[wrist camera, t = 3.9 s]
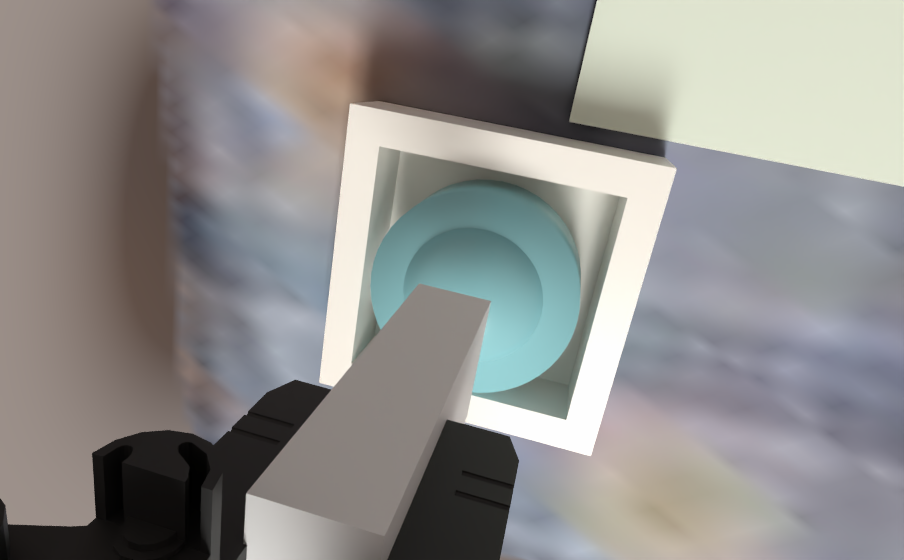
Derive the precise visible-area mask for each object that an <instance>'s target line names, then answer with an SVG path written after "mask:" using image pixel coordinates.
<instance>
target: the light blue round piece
mask: <svg viewBox="0 0 904 560" xmlns="http://www.w3.org/2000/svg"><path fill="white" fill-rule="evenodd" d="M418 284H423V285H428V286H432V287H436V288H440V289H444V290H448V291H452V292H456V293H460V294H465V295H469V296H473V297H477V298H481V299H485V300H489V301H491V304H490V308H489V313H488V318H487V323H486V328H485V332H484V337H483V342H482V347H481V352H480V356H479V361H478V366H477V371H476V376H475V380H474V385H473V390H472V392H474V393H491V392H498V391H505V390H508V389H512V388H515V387H518V386H520V385H523V384H525V383H527V382H530V381H531V380H533V379H535V378H536V377H538V376H540V375H541V374H542V373H543V372H545V371H546V370H547V369H548V368H550V367H551V366H552V365H553V364H554V363H555V362H556V360H557V359H558V358H559V357H560V356H561V354H562V353H563V352H564V350H565V349H566V347H567V345H568V344H569V342H570V340H571V338H572V336H573V333H574V330H575V327H576V324H577V320H578V315H579V310H580V287H581V267H580V259H579V255H578V250H577V247H576V244H575V242H574V239H573V237H572V235H571V233H570V231H569V229H568V227H567V226H566V224H565V223H564V221H563V220H562V219H561V217H560V216H559V215H558V214H557V212H556V211H555V210H554V209H553V208H552V207H551V206H550V205H549V204H547V203H546V202H545V201H543V200H542V199H541V198H540V197H538V196H537V195H535V194H533V193H531V192H530V191H528V190H526V189H524V188H521V187H519V186H517V185H514V184H510V183H507V182H503V181H496V180H481V179H477V180H469V181H463V182H459V183H455V184H452V185H449V186H447V187H444V188H442V189H440V190H438V191H437V192H435V193H433V194H431V195H430V196H428V197H427V198H426V199H424V200H423V201H421V202H420V203H419V204H417V205H416V206H414V207H413V208H412V209H410V210H409V211H408V212H406V213H405V214H404V215H403V216H401V217H400V218H399V219H398V220H397V221H396V223H395V224H394V225H393V226H392V227H391V228H390V230H389V231H388V232H387V234H386V235H385V237H384V238H383V240H382V242H381V244H380V246H379V248H378V250H377V253H376V256H375V259H374V262H373V267H372V272H371V284H370V288H371V300H372V305H373V310H374V314H375V317H376V320H377V323H378V325H379V327H380V329H382V328H383V327H384V325H385V324H386V323H387V322H388V321H389V319H390V318H391V317H392V316H393V314H394V313H395V312H396V311H397V310H398V308H399V307H400V306H401V305H402V304H403V302H404V301H405V300H406V299H407V297H408V296H409V295H410V294H411V293H412V291H413V290H414V289H415V288H416V287H417V285H418Z"/></svg>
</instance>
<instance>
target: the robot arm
mask: <svg viewBox="0 0 904 560" xmlns="http://www.w3.org/2000/svg"><path fill="white" fill-rule="evenodd" d="M490 304H491V301H489V300H485V299H481V298H477V297H473V296H469V295H465V294H460V293H456V292H452V291H448V290H444V289H440V288H436V287H432V286H428V285H423V284H418V285H417V287H416V288H415V289H414V290H413V291H412V293H411V294H410V295H409V296H408V297H407V299H406V300H405V301H404V302H403V304H402V305H401V306H400V307H399V308H398V310H397V311H396V312H395V313H394V314H393V316H392V317H391V318H390V319H389V321H388V322H387V323H386V324H385V325H384V327H383V328H382V329H381V330H380V331H379V333H378V334H377V335H376V336H375V338H374V339H373V340H372V341H371V342H370V344H369V345H368V346H367V347H366V348H365V350H364V351H363V352H362V353H361V355H360V356H359V357H358V358H357V359H356V361H355V362H354V363H353V364H352V365H351V367H350V368H349V369H348V370H347V372H346V373H345V374H344V375H343V376H342V378H341V379H340V380H339V381H338V382H337V384H336V385H335V386H334V387H333V389H332V390H330V389H327V388H323V387H320V386H316V385H312V384H309V383H305V382H301V381H298V380H294V381H292V382H289V383H287V384H285V385H283V386H280V387H278V388H276V389H274V390H272V391H269V392H267V393H266V394H265V395H264V396H263V397H262V398H261V399H260V400H259V401H258V402H257V403H256V404H255V405H254V406H253V407H252V408H251V409H250V410H249V411H248V414H247V415H244V416H243V417H242V418H241V419H240V420H239V421H238V422H237V423H236V424H235V425H234V426H233V427H232V430H231V432H230V431H228V432H227V433H226V434H225V435H224V436H223V437H222V438H221V439H220V440H219V441H218V442H216V443H215V444H214V445H213V444H212V443H210V442H208V441H206V440H204V439H202V438H200V437H198V436H196V435H194V434H190V433H184V432H176V431H170V430H165V431H154V432H153V431H152V432H141V433H138V434H134V435H131V436H127V437H124V438H121V439H117V440H115V441H113V442H111V443H109V444H107V445H106V446H104V447H102V448H100V449H99V450H97V451H95V452H93V453H92V457H93V474H94V491H95V506H96V507H95V508H96V518H95V519H94V520H93V521H92V522H91V523H90V524H89V525H87V526H76V527H75V526H73V527H67V526H64V527H63V526H36V525H8V523H7V515H6V508H5V504H4V503H3V502H2V500H1V499H0V560H500V555H501V550H502V545H503V539H504V534H505V529H506V524H507V519H508V514H509V508H510V504H511V499H512V494H513V488H514V483H515V478H516V473H517V468H518V463H519V460H518V457H517V454H516V452H515V449H514V447H513V444H512V442H511V439H510V437H509V436H505V435H502V434H498V433H494V432H491V431H487V430H484V429H480V428H476V427H473V426H469V425H466V424H464V423H465V420H466V418H467V414H468V409H469V405H470V400H471V395H472V390H473V385H474V380H475V376H476V371H477V366H478V361H479V356H480V352H481V347H482V342H483V337H484V332H485V328H486V323H487V318H488V313H489V308H490Z"/></svg>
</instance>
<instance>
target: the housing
mask: <svg viewBox="0 0 904 560" xmlns="http://www.w3.org/2000/svg"><path fill="white" fill-rule="evenodd" d="M676 169H677V168H676V167H675V166H674V165H673V164H671V163H670V162H669V161H668V160H667V159H666V158H665V157H660V156H655V155H650V154H645V153H640V152H635V151H630V150H625V149H620V148H615V147H610V146H604V145H599V144H594V143H589V142H584V141H579V140H574V139H569V138H564V137H559V136H554V135H549V134H544V133H539V132H534V131H529V130H523V129H518V128H513V127H508V126H503V125H498V124H493V123H488V122H483V121H478V120H473V119H468V118H463V117H458V116H453V115H448V114H443V113H437V112H432V111H427V110H422V109H417V108H412V107H407V106H402V105H397V104H392V103H387V102H382V101H372V102H360V103H350V109H349V118H348V127H347V136H346V145H345V154H344V163H343V172H342V181H341V190H340V199H339V208H338V218H337V227H336V236H335V245H334V254H333V263H332V272H331V281H330V290H329V299H328V308H327V317H326V326H325V336H324V345H323V354H322V363H321V372H320V381H319V383H323V384H327V385H330V386H335V385H336V384H337V382H338V381H339V380H340V379H341V378H342V376H343V375H344V374H345V373H346V372H347V370H348V369H349V368H350V367H351V365H352V364H353V363H354V362H355V361H356V359H357V358H358V357H359V356H360V355H361V353H362V352H363V351H364V350H365V348H366V347H367V346H368V345H369V344H370V342H371V341H372V340H373V339H374V338H375V336H376V335H377V334H378V333H379V331H380V330H381V329H380V327H379V325H378V323H377V320H376V317H375V314H374V310H373V305H372V300H371V288H370V284H371V272H372V267H373V262H374V259H375V256H376V253H377V250H378V248H379V246H380V244H381V242H382V240H383V238H384V237H385V235H386V234H387V232H388V231H389V230H390V228H391V227H392V226H393V225H394V224H395V223H396V221H397V220H398V219H399V218H400V217H401V216H403V215H404V214H405V213H406V212H408V211H409V210H410V209H412V208H413V207H414V206H416V205H417V204H419V203H420V202H421V201H423V200H424V199H426V198H427V197H428V196H430V195H431V194H433V193H435V192H437V191H438V190H440V189H442V188H444V187H447V186H449V185H452V184H455V183H459V182H463V181H469V180H477V179H481V180H496V181H503V182H507V183H510V184H514V185H517V186H519V187H521V188H524V189H526V190H528V191H530V192H531V193H533V194H535V195H537V196H538V197H540V198H541V199H542V200H543V201H545V202H546V203H547V204H549V205H550V206H551V207H552V208H553V209H554V210H555V211H556V212H557V214H558V215H559V216H560V217H561V219H562V220H563V221H564V223H565V224H566V226H567V227H568V229H569V231H570V233H571V235H572V237H573V239H574V242H575V244H576V247H577V250H578V255H579V259H580V267H581V287H580V310H579V315H578V320H577V324H576V327H575V330H574V333H573V336H572V338H571V340H570V342H569V344H568V345H567V347H566V349H565V350H564V352H563V353H562V354H561V356H560V357H559V358H558V359H557V360H556V362H555V363H554V364H553V365H552V366H551V367H550V368H548V369H547V370H546V371H545V372H543V373H542V374H541V375H540V376H538V377H536V378H535V379H533V380H531V381H530V382H527V383H525V384H523V385H520V386H518V387H515V388H512V389H508V390H505V391H498V392H491V393H474V392H472V395H471V400H470V405H469V409H468V414H467V418H466V420H465V422H467V423H471V424H474V425H478V426H482V427H485V428H489V429H493V430H496V431H500V432H504V433H508V434H511V435H515V436H519V437H522V438H526V439H530V440H533V441H537V442H541V443H544V444H548V445H552V446H556V447H559V448H563V449H567V450H570V451H574V452H578V453H581V454H585V455H589V456H591V453H592V450H593V447H594V443H595V440H596V437H597V433H598V430H599V427H600V423H601V420H602V417H603V413H604V410H605V407H606V403H607V400H608V397H609V393H610V390H611V386H612V383H613V380H614V376H615V373H616V370H617V366H618V363H619V360H620V356H621V353H622V350H623V346H624V343H625V340H626V336H627V333H628V330H629V326H630V323H631V320H632V316H633V313H634V310H635V306H636V303H637V300H638V296H639V293H640V290H641V286H642V283H643V280H644V276H645V273H646V270H647V266H648V263H649V260H650V256H651V253H652V250H653V246H654V243H655V240H656V236H657V233H658V230H659V226H660V223H661V220H662V216H663V213H664V210H665V206H666V203H667V200H668V196H669V193H670V190H671V186H672V183H673V179H674V176H675V173H676Z"/></svg>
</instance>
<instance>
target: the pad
mask: <svg viewBox="0 0 904 560" xmlns="http://www.w3.org/2000/svg"><path fill="white" fill-rule="evenodd" d="M569 122H573V123H578V124H583V125H589V126H594V127H599V128H604V129H609V130H614V131H620V132H625V133H630V134H635V135H640V136H645V137H651V138H656V139H661V140H666V141H671V142H676V143H682V144H687V145H692V146H697V147H702V148H707V149H713V150H718V151H723V152H728V153H733V154H738V155H744V156H749V157H754V158H759V159H764V160H769V161H775V162H780V163H785V164H790V165H795V166H800V167H806V168H811V169H816V170H821V171H826V172H831V173H837V174H842V175H847V176H852V177H857V178H862V179H868V180H873V181H878V182H883V183H888V184H893V185H899V186H904V0H597V3H596V7H595V12H594V16H593V20H592V25H591V29H590V33H589V37H588V42H587V46H586V50H585V55H584V59H583V63H582V68H581V72H580V76H579V80H578V85H577V89H576V93H575V98H574V102H573V106H572V111H571V115H570V119H569Z"/></svg>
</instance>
